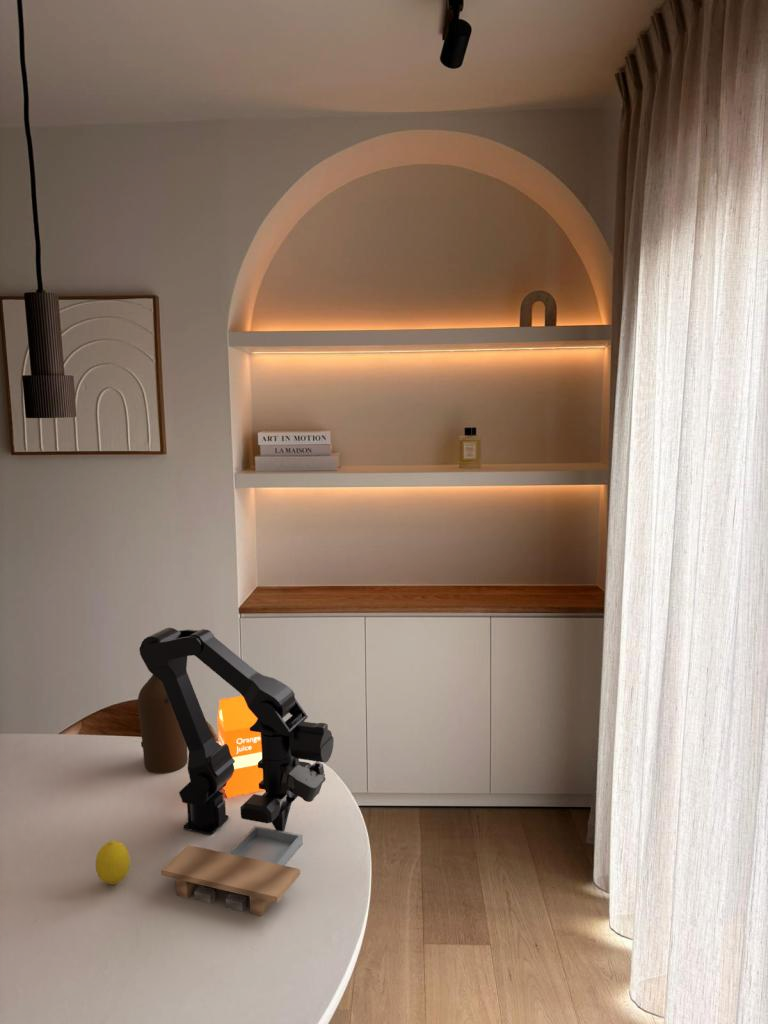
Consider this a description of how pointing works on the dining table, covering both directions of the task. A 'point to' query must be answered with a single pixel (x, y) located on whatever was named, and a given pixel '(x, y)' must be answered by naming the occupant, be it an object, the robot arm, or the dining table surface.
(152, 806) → the dining table surface
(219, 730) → the orange juice
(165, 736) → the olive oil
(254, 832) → the grey open tray
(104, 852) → the lemon
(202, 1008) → the dining table surface
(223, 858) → the bridge
